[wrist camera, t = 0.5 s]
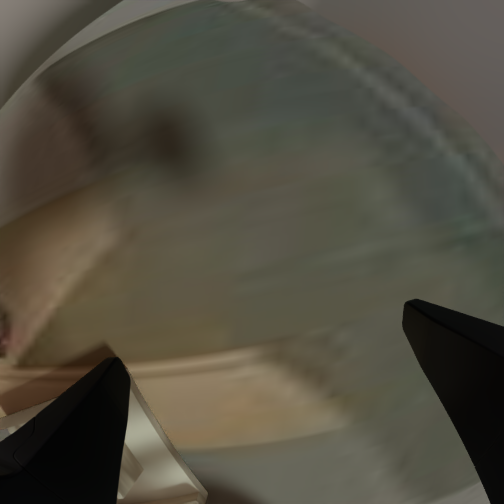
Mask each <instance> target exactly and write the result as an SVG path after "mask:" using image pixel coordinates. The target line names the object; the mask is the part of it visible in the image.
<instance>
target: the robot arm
mask: <svg viewBox="0 0 504 504" xmlns="http://www.w3.org/2000/svg"><path fill="white" fill-rule="evenodd" d="M402 327H403V330H404V333H405V335H406V337H407V339H408V341H409V343H410V345H411V347H412V349H413V351H414V354H415V356H416V358H417V360H418V362H419V364H420V366H421V368H422V370H423V372H424V373H425V375H426V377H427V378H428V380H429V382H430V383H431V385H432V387H433V388H434V390H435V392H436V394H437V395H438V397H439V399H440V401H441V403H442V404H443V406H444V408H445V410H446V412H447V413H448V415H449V417H450V419H451V421H452V423H453V424H454V426H455V428H456V430H457V432H458V434H459V436H460V438H461V440H462V442H463V444H464V446H465V448H466V450H467V452H468V454H469V456H470V458H471V460H472V462H473V464H474V466H475V469H476V471H477V473H478V476H479V478H480V480H481V482H482V484H483V487H484V489H485V491H486V494H487V496H488V498H489V501H490V503H491V504H504V326H500V325H497V324H494V323H491V322H488V321H485V320H482V319H479V318H476V317H473V316H470V315H466V314H463V313H460V312H457V311H454V310H451V309H448V308H445V307H442V306H438V305H435V304H432V303H429V302H426V301H423V300H420V299H413V300H409V301H407V302H405V304H404V310H403V320H402ZM130 387H131V379H130V376H129V374H128V372H127V370H126V368H125V366H124V365H123V363H122V361H121V359H120V358H118V357H109V358H106V359H105V360H104V361H102V362H101V363H100V364H99V365H97V366H96V367H95V368H94V369H92V370H91V371H90V372H89V373H87V374H86V375H85V376H84V377H82V378H81V379H80V380H79V381H77V382H76V383H75V384H74V385H72V386H71V387H70V388H69V389H67V390H66V391H65V392H64V393H63V394H61V395H60V396H59V397H58V398H56V399H55V400H54V401H53V402H51V403H50V404H49V405H48V406H46V407H45V408H44V409H43V410H42V411H40V412H39V413H38V414H37V415H36V417H35V416H34V417H33V418H32V419H30V420H29V421H28V422H27V423H25V424H24V425H23V426H22V427H20V428H19V429H18V430H16V431H15V432H14V433H12V434H11V435H9V436H8V437H7V438H5V439H4V440H2V441H1V442H0V504H117V495H118V486H119V477H120V470H121V462H122V455H123V448H124V442H125V436H126V430H127V423H128V413H129V399H130Z"/></svg>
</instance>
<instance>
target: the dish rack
mask: <svg viewBox="0 0 504 504" xmlns="http://www.w3.org/2000/svg"><path fill="white" fill-rule="evenodd" d="M126 370H127V372H128V374H129V376H130V379H131V387H130V399H129V413H128V423H127V430H126V436H125V442H124V448H123V455H122V462H121V470H120V477H119V486H118V495H117V504H206V500H207V496H208V492H207V491H206V489H205V488H204V487H203V486H202V484H201V483H200V482H199V481H198V479H197V478H196V477H195V475H194V474H193V473H192V472H191V470H190V469H189V467H188V466H187V465H186V463H185V462H184V461H183V459H182V458H181V456H180V455H179V454H178V452H177V451H176V449H175V448H174V446H173V445H172V443H171V442H170V440H169V439H168V437H167V436H166V434H165V433H164V431H163V430H162V428H161V427H160V425H159V423H158V422H157V420H156V419H155V417H154V415H153V414H152V412H151V410H150V409H149V407H148V405H147V404H146V402H145V400H144V398H143V397H142V395H141V393H140V391H139V389H138V388H137V386H136V384H135V382H134V380H133V378H132V377H131V375H130V373H129V371H128V369H127V368H126ZM56 398H58V397H56ZM56 398H54V399H51V400H48V401H46V402H43V403H41V404H38V405H35V406H32V407H30V408H27V409H24V410H21V411H19V412H16V413H13V414H10V415H7V416H5V417H2V418H0V430H2V429H6V428H8V430H9V432H10V434H12V433H14V432H15V431H16V430H18V429H19V428H20V427H22V426H23V425H24V424H25V423H27V422H28V421H29V420H30V419H32V418H33V417H34V416H35V417H36V415H37V414H38V413H39V412H40V411H42V410H43V409H44V408H45V407H46V406H48V405H49V404H50V403H51V402H53V401H54V400H55V399H56Z"/></svg>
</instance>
